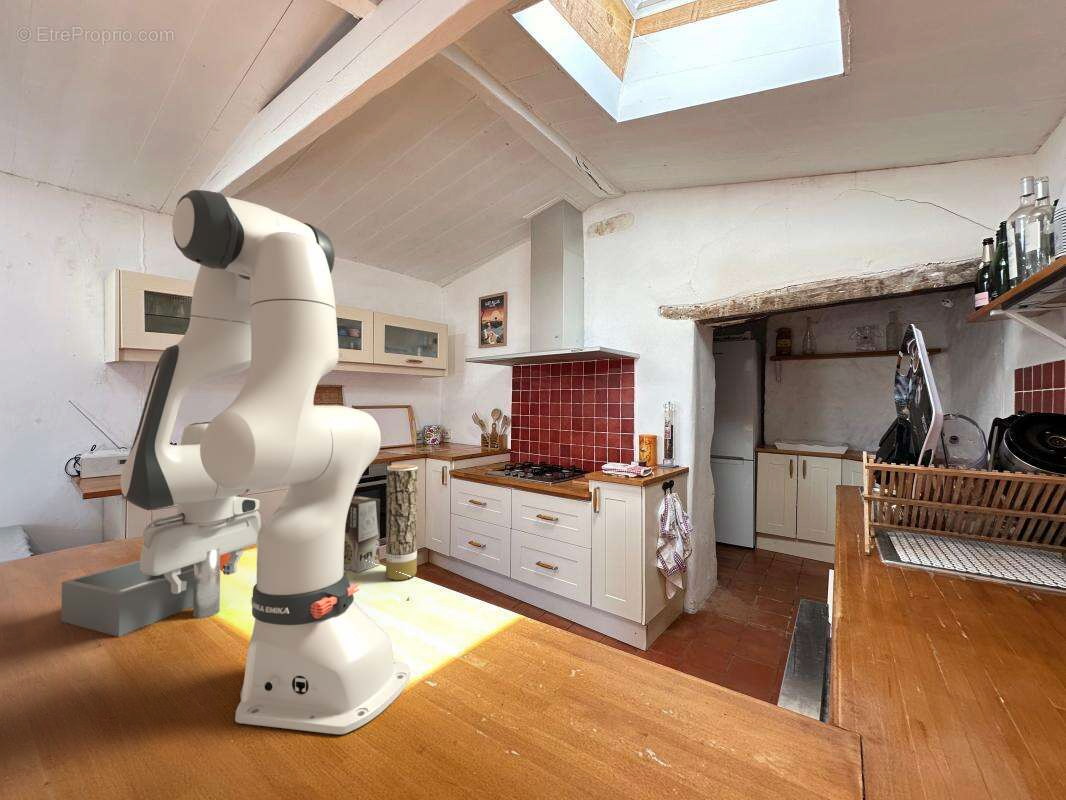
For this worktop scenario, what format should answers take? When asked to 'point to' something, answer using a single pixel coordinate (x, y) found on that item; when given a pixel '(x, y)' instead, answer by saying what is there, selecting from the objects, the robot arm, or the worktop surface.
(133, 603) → the box
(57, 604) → the worktop surface
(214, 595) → the peg
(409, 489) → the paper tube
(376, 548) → the coffee box
